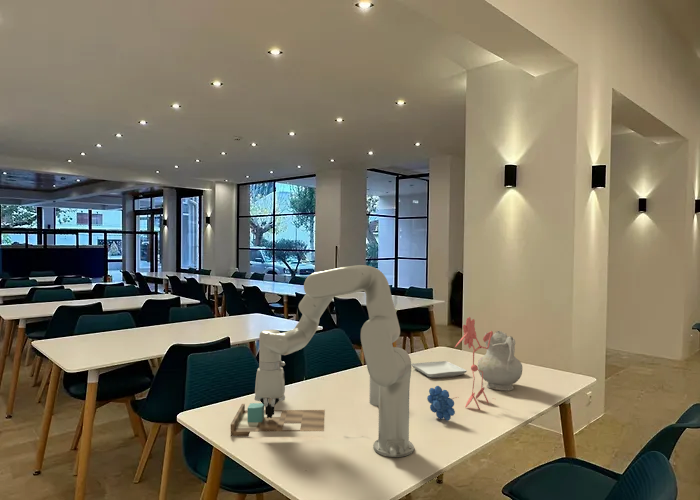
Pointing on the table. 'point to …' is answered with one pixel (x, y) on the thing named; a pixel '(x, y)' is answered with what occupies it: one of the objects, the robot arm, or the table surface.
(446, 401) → the grapes
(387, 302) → the robot arm
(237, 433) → the board
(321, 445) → the table surface
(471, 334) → the pink stick figure
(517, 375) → the ceramic pitcher
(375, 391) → the cup
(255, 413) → the block
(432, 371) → the salad plate
